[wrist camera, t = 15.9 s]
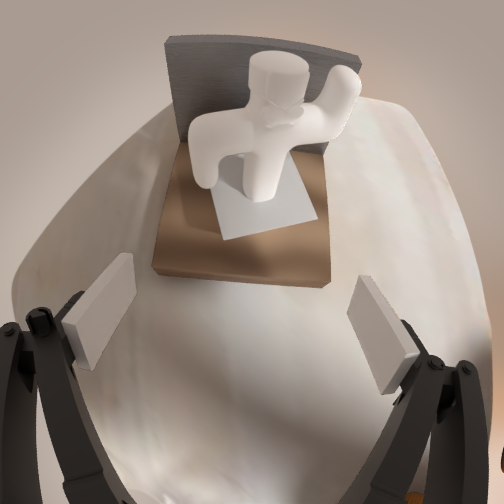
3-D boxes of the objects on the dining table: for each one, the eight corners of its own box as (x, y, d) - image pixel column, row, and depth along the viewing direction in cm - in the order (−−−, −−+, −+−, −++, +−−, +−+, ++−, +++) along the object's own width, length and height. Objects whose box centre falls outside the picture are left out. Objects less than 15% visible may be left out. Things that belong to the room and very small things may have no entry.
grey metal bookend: (323, 155, 27) (362, 64, 16) (180, 142, 27) (164, 43, 15) (321, 145, 28) (357, 55, 17) (183, 132, 27) (169, 36, 16)
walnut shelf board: (321, 288, 25) (331, 281, 23) (158, 274, 24) (151, 266, 22) (316, 159, 30) (321, 145, 28) (185, 146, 29) (183, 132, 27)
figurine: (194, 187, 25) (172, 39, 11) (290, 169, 26) (333, 34, 12) (211, 260, 22) (187, 120, 8) (317, 235, 24) (402, 107, 10)
